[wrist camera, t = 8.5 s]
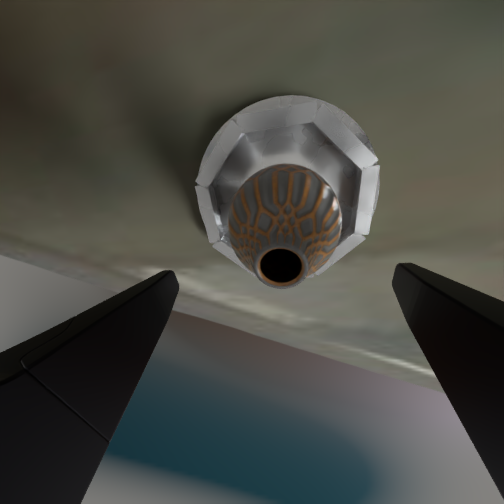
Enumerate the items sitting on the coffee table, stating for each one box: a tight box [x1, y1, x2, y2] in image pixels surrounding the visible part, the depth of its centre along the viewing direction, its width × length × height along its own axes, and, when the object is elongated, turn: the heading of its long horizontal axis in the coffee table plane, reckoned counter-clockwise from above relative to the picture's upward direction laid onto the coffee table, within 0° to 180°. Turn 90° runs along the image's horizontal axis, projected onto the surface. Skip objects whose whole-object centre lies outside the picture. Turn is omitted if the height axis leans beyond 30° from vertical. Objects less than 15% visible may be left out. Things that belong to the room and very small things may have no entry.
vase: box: [228, 163, 342, 289], centre depth 12 cm, size 7×7×9 cm
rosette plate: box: [195, 95, 380, 277], centre depth 16 cm, size 14×14×2 cm
